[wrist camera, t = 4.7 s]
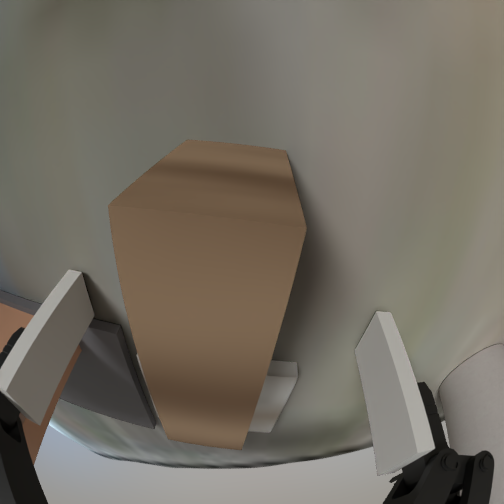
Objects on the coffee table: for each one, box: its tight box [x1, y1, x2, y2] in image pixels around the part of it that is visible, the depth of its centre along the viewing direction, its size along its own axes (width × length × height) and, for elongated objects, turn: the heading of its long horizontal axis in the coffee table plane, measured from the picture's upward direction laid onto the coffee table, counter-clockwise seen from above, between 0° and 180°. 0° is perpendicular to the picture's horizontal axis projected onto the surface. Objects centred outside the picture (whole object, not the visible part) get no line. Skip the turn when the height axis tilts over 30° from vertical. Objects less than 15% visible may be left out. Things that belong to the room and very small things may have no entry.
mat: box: [0, 290, 156, 429], centre depth 16 cm, size 13×14×1 cm
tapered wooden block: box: [108, 140, 307, 450], centre depth 11 cm, size 18×8×5 cm, turn 173°
